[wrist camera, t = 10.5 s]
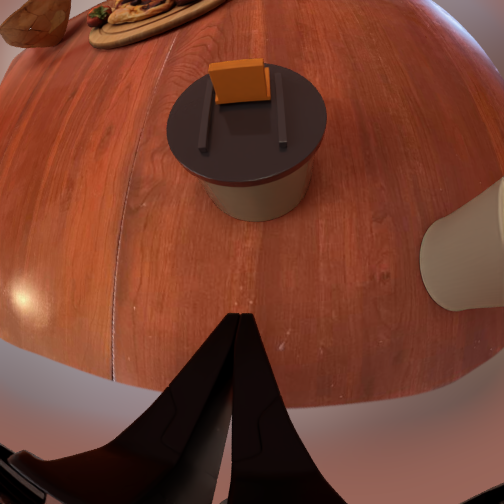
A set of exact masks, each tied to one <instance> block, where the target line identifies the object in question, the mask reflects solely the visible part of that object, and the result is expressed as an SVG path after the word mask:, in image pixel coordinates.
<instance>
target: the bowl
mask: <svg viewBox="0 0 504 504" xmlns="http://www.w3.org/2000/svg"><path fill="white" fill-rule="evenodd" d="M70 9H71V0H29V1H27V2H26V3H25V4H24V5H23V6H22V7H21V8H20V9H18V10H17V11H15V12H14V13H13V14H12V15H10V16H9V17H8V18H7V19H6V20H5V21H4V22H3V23H2V24H1V26H0V34H1V35H2V37H3V38H4V40H5V41H6V43H8V44H9V45H11V46H15V47H21V48H36V47H51V46H55V45H57V44H58V43H59V42H60V41H61V40H62V38H63V36H64V34H65V31H66V28H67V24H68V20H69V14H70ZM30 28H32V29H30ZM29 29H30V30H29Z"/></svg>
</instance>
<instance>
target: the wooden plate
mask: <svg viewBox="0 0 504 504" xmlns="http://www.w3.org/2000/svg"><path fill="white" fill-rule="evenodd" d="M225 1H226V0H117V1H116V3H115V7H114V8H112V9H111V8H110V7H109V6H98V7H95V8H93V9H91V10H90V11H89V12H88V14H87V24H88V26H89V27H93V28H92V30H91V32H90V35H89V42H90V44H91V45H92V46H93V47H95V48H99V49H110V48H116V47H120V46H124V45H128V44H131V43H135V42H137V41H140V40H144V39H146V38H149V37H152V36H155V35H157V34H160V33H163V32H165V31H168V30H170V29H172V28H175V27H177V26H179V25H182V24H184V23H186V22H188V21H191V20H193V19H195V18H197V17H199V16H201V15H203V14H205V13H207V12H209V11H210V10H212V9H214V8H216V7H217V6H219V5H220V4H222V3H223V2H225Z"/></svg>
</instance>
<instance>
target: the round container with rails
mask: <svg viewBox="0 0 504 504" xmlns="http://www.w3.org/2000/svg"><path fill="white" fill-rule="evenodd" d="M265 67H269V76H270V95H271V100H261V101H246V102H235V103H225V104H216V102H215V98H216V92H215V89H214V86H213V84H212V81H211V78H210V75H209V74H207V75H205V76H203V77H201V78H200V79H198V80H197V81H195V82H194V83H193V84H192V85H190V86H189V87H188V88H187V89H186V90H185V91H184V92H183V93H182V94H181V95H180V97H179V98H178V99H177V101H176V102H175V104H174V105H173V107H172V110H171V112H170V114H169V118H168V121H167V139H168V144H169V146H170V149H171V151H172V153H173V154H174V156H175V157H176V159H177V160H178V162H179V163H180V164H181V165H182V166H183V167H184V168H185V169H186V170H187V171H188V172H190V173H191V174H192V175H194V176H196V177H197V179H198V180H199V182H200V183H201V185H202V186H203V188H204V189H205V191H206V192H207V194H208V195H209V197H210V198H211V200H212V201H213V203H214V204H215V205H216V206H217V207H218V208H219V209H220V210H221V211H223V212H224V213H226V214H227V215H229V216H231V217H234V218H236V219H240V220H244V221H251V222H260V221H267V220H272V219H275V218H278V217H280V216H282V215H284V214H286V213H288V212H289V211H291V210H292V209H293V208H294V207H296V206H297V205H298V204H299V203H300V201H301V200H302V199H303V197H304V196H305V194H306V192H307V190H308V188H309V184H310V181H311V175H312V169H313V164H314V158H315V153H316V151H317V150H318V148H319V147H320V144H321V142H322V140H323V137H324V133H325V129H326V122H327V113H326V107H325V104H324V101H323V99H322V97H321V95H320V93H319V92H318V90H317V89H316V88H315V87H314V86H313V85H312V83H311V82H309V81H308V80H307V79H306V78H304V77H303V76H301V75H300V74H298V73H296V72H294V71H292V70H290V69H287V68H284V67H281V66H277V65H273V64H266V63H264V68H265Z"/></svg>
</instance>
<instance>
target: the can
mask: <svg viewBox="0 0 504 504" xmlns="http://www.w3.org/2000/svg"><path fill="white" fill-rule="evenodd" d="M420 270H421V275H422V279H423V282H424V285H425V287H426V289H427V291H428V293H429V294H430V296H431V297H432V298H433V300H434V301H435V302H436V303H437V304H438V305H440V306H441V307H443V308H445V309H447V310H450V311H462V310H465V309H474V308H489V307H503V306H504V176H503V177H502V178H501V179H500V180H498V181H497V182H496V183H494V184H493V185H492V186H490V187H489V188H488V189H486V190H485V191H484V192H482V193H481V194H480V195H478V196H477V197H475V198H474V199H472V200H471V201H469V202H468V203H467V204H465V205H464V206H462V207H461V208H459V209H457V210H456V211H454V212H453V213H451V214H450V215H448V216H446V217H444V218H441V219H439V220H437V221H435V222H434V223H433V224H432V225H431V226H430V227H429V229H428V230H427V232H426V233H425V235H424V238H423V241H422V244H421V248H420Z"/></svg>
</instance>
